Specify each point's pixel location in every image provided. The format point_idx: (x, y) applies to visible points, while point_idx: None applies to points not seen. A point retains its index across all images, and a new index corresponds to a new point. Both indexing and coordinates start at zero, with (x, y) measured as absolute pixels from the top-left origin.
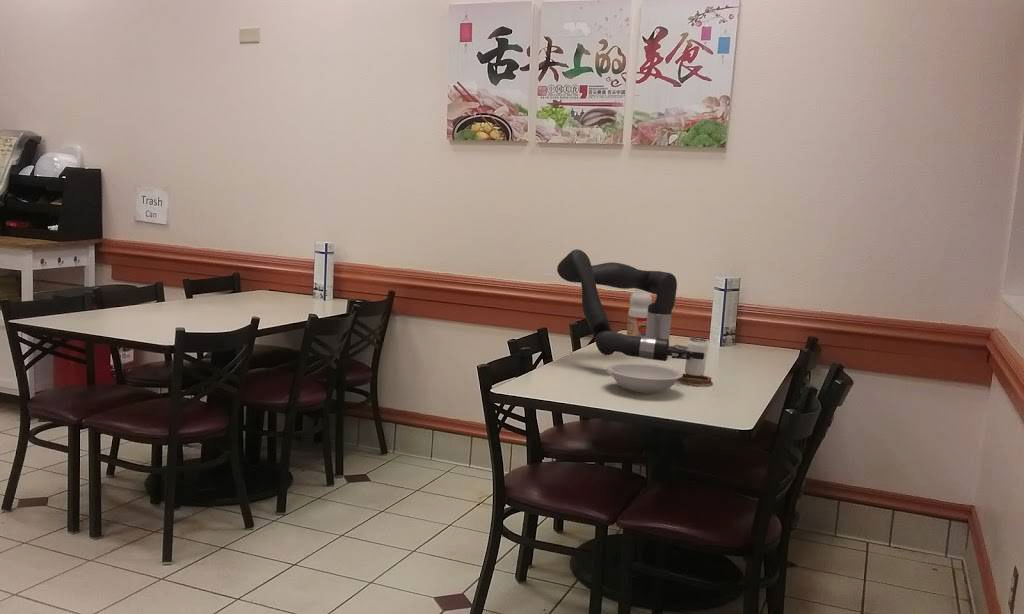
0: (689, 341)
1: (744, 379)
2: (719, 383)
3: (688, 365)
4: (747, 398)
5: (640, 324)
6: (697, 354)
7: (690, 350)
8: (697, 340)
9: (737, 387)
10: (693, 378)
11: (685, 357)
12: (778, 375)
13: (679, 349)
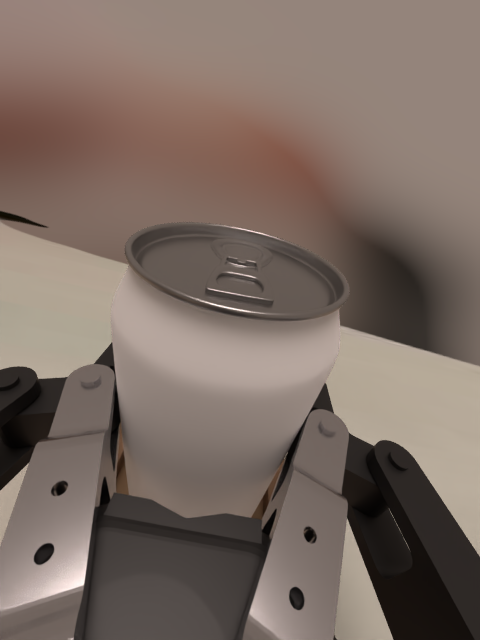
0: (275, 356)
1: (92, 301)
2: None
3: (254, 507)
4: (351, 352)
5: None
6: (325, 386)
7: (299, 424)
8: (262, 272)
9: None
10: (126, 487)
11: (373, 526)
12: (40, 240)
13: (324, 632)
